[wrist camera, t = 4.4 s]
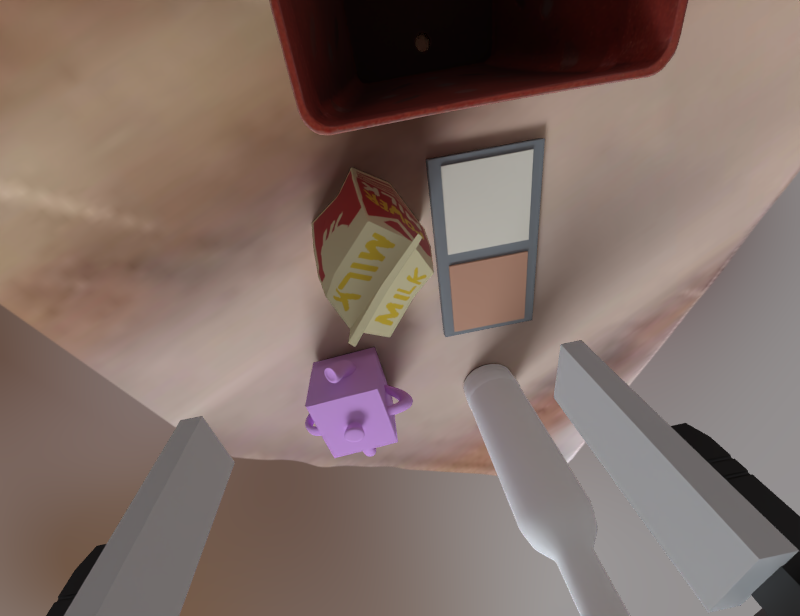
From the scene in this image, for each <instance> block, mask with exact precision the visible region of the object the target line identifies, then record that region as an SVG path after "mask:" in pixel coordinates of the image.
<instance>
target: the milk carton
mask: <svg viewBox="0 0 800 616" xmlns="http://www.w3.org/2000/svg"><path fill="white" fill-rule="evenodd" d="M312 236H313V248H314V254H315V260H316V266H317V273H318V277H319V280H320V282H321V285H322V288H323V290H324V293H325V296H326V298H327V299H328V300H329V302H330V303H331V304H332V306H333V307H334V308H335V310H336V311H337V312H338V314H339V315H340V316H341V318H342V319H343V320H344V322H345V323H346V324H347V326H348V327H349V328H350V335H349V341H348V343H349V344H351V345H352V346H354V347H356V345H357V343H358V341H359V340H360V338H361V336H362V334H363V333H367V334H373V335H379V336H384V337H391V335H392V333H393V332H394V330H395V328H396V327H397V325H398V323H399V321H400V320H401V318H402V316H403V315H404V313H405V311H406V310H407V308H408V306H409V305H410V303H411V301H412V299H413V298H414V296H415V295H416V294H417V293H418V291H419V290H420V289H421V288H422V287H423V285H424V284H425V283H426V282H427V281H428V279H429V278H430V277H431V276H432V275H433V273H434V271H433V262H432V254H431V246H430V244H429V241H428V238H427V235H426V232H425V229H424V228H423V227H422V225H421V224H420V223H419V221H418V220H417V219H416V217H415V216H414V215H413V213H412V212H411V211H410V209H409V208H408V207H407V205H406V204H405V203H404V201H403V200H402V199H401V197H400V196H399V195H398V193H397V192H396V191H395V189H394V188H393V187H392V185H391V184H390V183H388V182H386V181H384V180H381V179H379V178H376V177H374V176H371V175H369V174H367V173H364V172H362V171H359V170H357V169H355V168H352V167H351V169H350V171H349V173H348V175H347V177H346V179H345V182H344V184H343V186H342V188H341V190H340V192H339V194H338V196H337V197H336V198H335V199H334V200H333V201H332V202H331V203H330V204H329V205H328V206H327V208H326V209H325V210H324V211H323V212H322V213H321V214H320V215H319V216H318V217H317V218H316V219H315V220H314V222H313V223H312Z"/></svg>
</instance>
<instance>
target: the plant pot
mask: <svg viewBox="0 0 800 616" xmlns="http://www.w3.org/2000/svg"><path fill="white" fill-rule="evenodd" d="M269 1H270V5H271V10H272V14H273V17H274V21H275V25H276V29H277V32H278V36H279V40H280V44H281V48H282V51H283V55H284V59H285V63H286V67H287V71H288V74H289V78H290V82H291V86H292V90H293V93H294V97H295V100H296V104H297V109H298V112H299V114H300V116H301V119H302V120H303V122H304V124H305V125H306V126H307V127H308V128H309V129H311V130H312V131H313V132H315V133H317V134H320V135H334V134H339V133H344V132H349V131H354V130H359V129H364V128H369V127H374V126H379V125H384V124H389V123H394V122H399V121H404V120H409V119H414V118H419V117H424V116H430V115H435V114H440V113H445V112H450V111H456V110H461V109H466V108H472V107H477V106H482V105H488V104H493V103H499V102H504V101H509V100H515V99H521V98H527V97H532V96H538V95H544V94H550V93H556V92H561V91H567V90H573V89H579V88H584V87H590V86H596V85H602V84H608V83H614V82H620V81H626V80H632V79H638V78H644V77H649V76H652V75H655V74H656V73H658V72H659V71H660V70H662V69H663V68H664V67H665V66H666V64H667V63H668V62H669V61H670V59H671V58H672V57H673V55H674V54H675V51H676V48H677V45H678V42H679V39H680V35H681V30H682V26H683V22H684V17H685V12H686V8H687V3H688V0H269ZM421 32H422V33H426V34H427V36H428V37H429V38H430V47H429V49H428V50H427V51H425V52H420V51H418V50H417V48H416V45H415V39H416V37H417V35H418V34H419V33H421Z"/></svg>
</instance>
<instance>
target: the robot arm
mask: <svg viewBox="0 0 800 616" xmlns="http://www.w3.org/2000/svg"><path fill="white" fill-rule="evenodd" d="M554 398H555V400H556V401H557V403H558V404H559V405H560V407H561V408H562V410H563V411H564V412H565V414H566V415H567V417H568V418H569V419H570V421H571V422H572V424H573V425H574V426H575V428H576V429H577V430H578V432H579V433H580V435H581V436H582V437H583V439H584V440H585V442H586V443H587V444H588V446H589V447H590V448H591V450H592V451H593V453H594V454H595V455H596V457H597V458H598V460H599V461H600V462H601V464H602V465H603V467H604V468H605V469H606V471H607V472H608V474H609V475H610V476H611V478H612V479H613V480H614V482H615V483H616V485H617V486H618V488H619V489H620V490H621V491H622V493H623V494H624V496H625V497H626V499H627V500H628V501H629V503H630V504H631V505H632V507H633V508H634V510H635V511H636V513H637V514H638V515H639V517H640V518H641V520H642V521H643V522H644V524H645V525H646V527H647V528H648V529H649V531H650V532H651V534H652V535H653V536H654V537H655V539H656V540H657V542H658V543H659V545H660V546H661V547H662V549H663V550H664V552H665V553H666V554H667V556H668V557H669V558H670V560H671V561H672V563H673V564H674V565H675V567H676V568H677V570H678V571H679V572H680V574H681V575H682V577H683V578H684V579H685V581H686V582H687V584H688V585H689V586H690V588H691V589H692V591H693V592H694V593H695V595H696V596H697V597H698V599H699V600H700V602H701V603H702V604H703V606H704V607H705V609H706V610H707V611H708V612H713V611H718V610H722V609H727V608H731V607H736V606H741V605H742V604H743V603H744V602H745V601H746V600H747V599H748V598H749V597H750V596H751V595H752V596H753V597H754V599H755V600H756V601H757V602H758V603H759V605H760V606H761V607H762V609H761V610H760V611H759V612H757V613H756V614H755V615H754V616H800V516H799V515H797V514H796V513H795V512H794V511H793V510H792V509H791V508H790V507H788V506H787V505H786V504H785V503H784V502H783V501H782V500H781V499H779V498H778V497H777V496H776V495H775V494H774V493H773V492H772V491H770V490H769V489H768V488H767V487H766V486H765V485H763V484H762V483H761V482H760V481H759V480H758V479H757V478H756V477H755V476H754V475H750V474H749V473H748V470H747V469H746V468H744V467H743V466H742V465H741V464H740V463H739V462H738V461H736V460H735V459H732V458H731V456H730V454H729V453H728V452H726V451H725V450H724V449H723V448H722V447H720V445H719V444H717V443H716V442H715V441H714V440H713V439H712V438H711V437H709V436H708V435H706V434H704V433H702V432H701V431H699V430H697V429H695V428H694V427H692V426H690V425H688V424H687V423H683V424H679V425H674V426H670V425H669V424H668V423H666V422H665V421H664V420H663V419H662V418H661V417H660V416H659V415H658V414H657V413H656V412H655V411H654V410H653V409H652V408H651V407H650V406H649V405H648V404H647V403H646V402H645V401H644V400H643V399H642V398H641V397H639V395H638V394H636V393H635V392H634V391H633V390H632V389H631V388H630V387H629V386H628V385H627V384H626V383H625V382H624V381H623V380H622V379H621V378H620V377H619V376H618V375H617V374H616V373H615V372H614V371H613V370H612V369H611V368H610V367H609V366H607V365H606V364H605V363H604V362H603V361H602V360H601V359H600V358H599V357H598V356H597V355H596V354H595V353H594V352H593V351H592V350H591V349H590V348H589V347H588V346H587V345H586V344H585V343H584V342H583V341H582V340H579V341H574V342H569V343H564V344H561V346H560V354H559V361H558V369H557V377H556V384H555V392H554ZM234 463H235V462H234V461H233V459H232V458H231V456H230V455H229V454H228V452H227V451H226V449H225V448H224V447H223V445H222V444H221V442H220V441H219V439H218V438H217V437H216V435H215V434H214V432H213V431H212V429H211V428H210V427H209V425H208V424H207V422H206V421H205V420H204V418H203V417H202V416H200V417H195V418H190V419H185V420H180V422H179V424H178V425H177V427H176V429H175V431H174V432H173V434H172V436H171V437H170V439H169V441H168V442H167V444H166V446H165V447H164V449H163V451H162V452H161V454H160V456H159V457H158V459H157V461H156V462H155V464H154V466H153V467H152V469H151V471H150V472H149V474H148V476H147V477H146V479H145V481H144V482H143V484H142V486H141V488H140V489H139V491H138V493H137V494H136V496H135V497H134V499H133V501H132V502H131V504H130V506H129V508H128V509H127V511H126V513H125V514H124V516H123V518H122V519H121V521H120V523H119V524H118V526H117V528H116V529H115V531H114V533H113V534H112V536H111V538H110V539H109V541H108V543H107V544H104V545H99V546H96V547H95V548H94V550H93V551H92V552H91V553H90V554H89V555H88V556H87V557H86V559H85V560H84V561H83V562H82V563H81V564H80V565H79V566H78V567H77V569H76V570H75V571H74V573H73V574H72V576H71V577H70V579H69V580H68V582H67V584H66V585H65V587H64V588H63V590H62V591H61V593H60V595H59V596H58V601H57V602H55V603H54V604H53V606H52V607H51V609H50V610H49V612H48V614H47V615H46V616H179V614H180V611H181V609H182V606H183V603H184V601H185V598H186V595H187V592H188V590H189V587H190V584H191V581H192V579H193V576H194V573H195V570H196V568H197V565H198V562H199V559H200V557H201V554H202V551H203V548H204V546H205V543H206V540H207V537H208V534H209V532H210V529H211V526H212V524H213V521H214V518H215V515H216V513H217V510H218V507H219V504H220V501H221V499H222V496H223V493H224V490H225V488H226V485H227V482H228V479H229V477H230V474H231V471H232V468H233V466H234Z"/></svg>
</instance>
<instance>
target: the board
mask: <svg viewBox="0 0 800 616" xmlns="http://www.w3.org/2000/svg"><path fill="white" fill-rule="evenodd" d="M544 142H545V139H543V138H539V139H533V140H528V141H522V142H517V143H512V144H506V145H501V146H495V147H490V148H485V149H479V150H474V151H468V152H463V153H458V154H452V155H447V156H441V157H436V158H431V159H426V167H427V177H428V186H429V196H430V206H431V215H432V225H433V234H434V244H435V254H436V263H437V273H438V282H439V292H440V302H441V311H442V321H443V330H444V335H445V337H448V336H454V335H459V334H464V333H469V332H474V331H479V330H484V329H489V328H494V327H499V326H504V325H509V324H514V323H519V322H524V321H529V320H532V313H533V299H534V285H535V271H536V256H537V242H538V228H539V214H540V199H541V185H542V171H543V157H544Z"/></svg>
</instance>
